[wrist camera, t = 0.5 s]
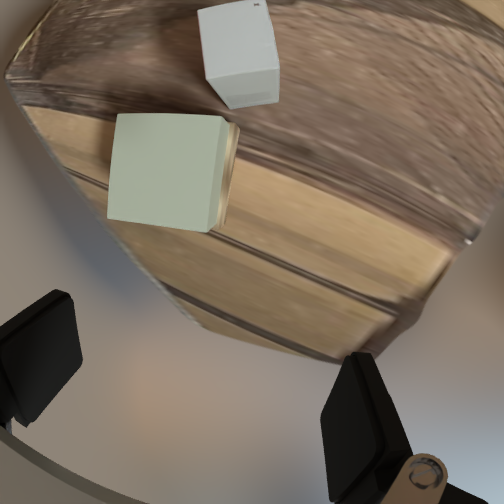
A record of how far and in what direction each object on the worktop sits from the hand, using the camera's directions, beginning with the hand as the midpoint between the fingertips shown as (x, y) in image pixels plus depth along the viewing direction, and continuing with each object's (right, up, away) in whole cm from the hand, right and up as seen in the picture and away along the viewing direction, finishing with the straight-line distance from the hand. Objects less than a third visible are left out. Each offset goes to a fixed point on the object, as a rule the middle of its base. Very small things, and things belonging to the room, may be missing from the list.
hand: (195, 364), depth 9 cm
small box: (+1, +25, +23) cm, 34 cm away
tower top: (-7, +13, +22) cm, 26 cm away
